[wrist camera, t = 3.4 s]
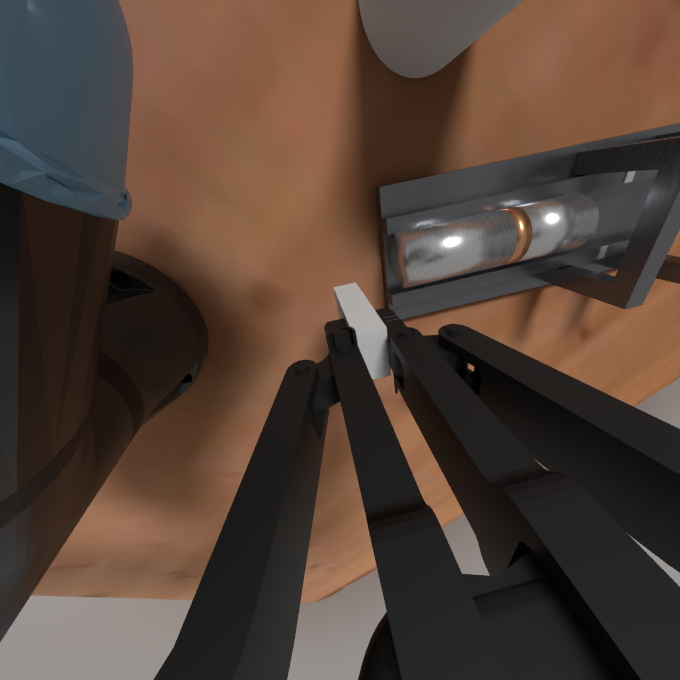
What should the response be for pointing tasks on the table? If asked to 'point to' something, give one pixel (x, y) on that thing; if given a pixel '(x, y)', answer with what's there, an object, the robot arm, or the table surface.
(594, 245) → the collar rail
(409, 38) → the white cylinder
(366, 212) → the table surface
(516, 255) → the tube
